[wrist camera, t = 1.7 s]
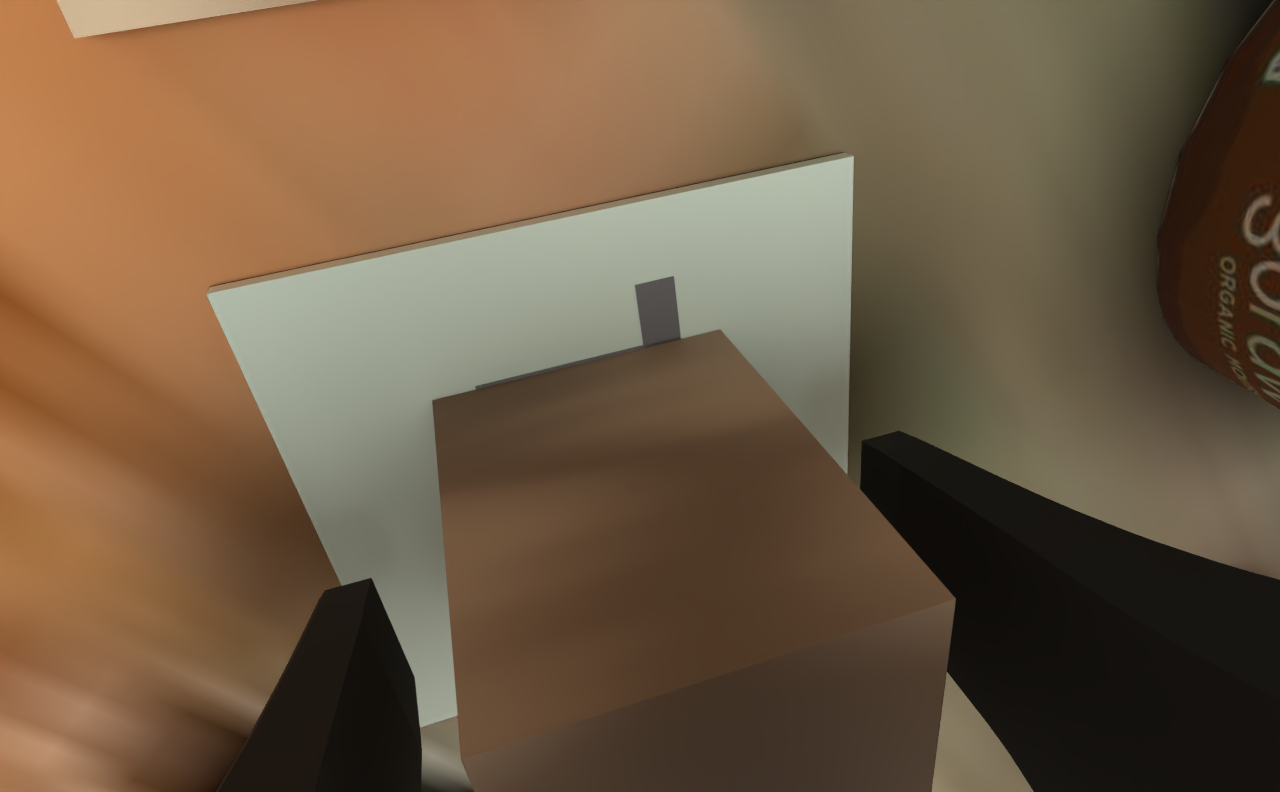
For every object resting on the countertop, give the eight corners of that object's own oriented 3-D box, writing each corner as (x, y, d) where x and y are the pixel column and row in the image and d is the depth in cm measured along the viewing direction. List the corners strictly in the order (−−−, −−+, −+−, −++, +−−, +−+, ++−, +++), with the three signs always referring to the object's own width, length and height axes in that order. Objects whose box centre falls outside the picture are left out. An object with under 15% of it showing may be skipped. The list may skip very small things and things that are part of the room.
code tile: (408, 719, 15) (409, 732, 14) (210, 286, 10) (205, 294, 10) (839, 584, 16) (845, 594, 16) (845, 152, 11) (854, 156, 11)
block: (500, 613, 14) (562, 999, 9) (432, 400, 11) (461, 759, 6) (737, 543, 14) (922, 859, 9) (720, 329, 12) (956, 598, 7)
